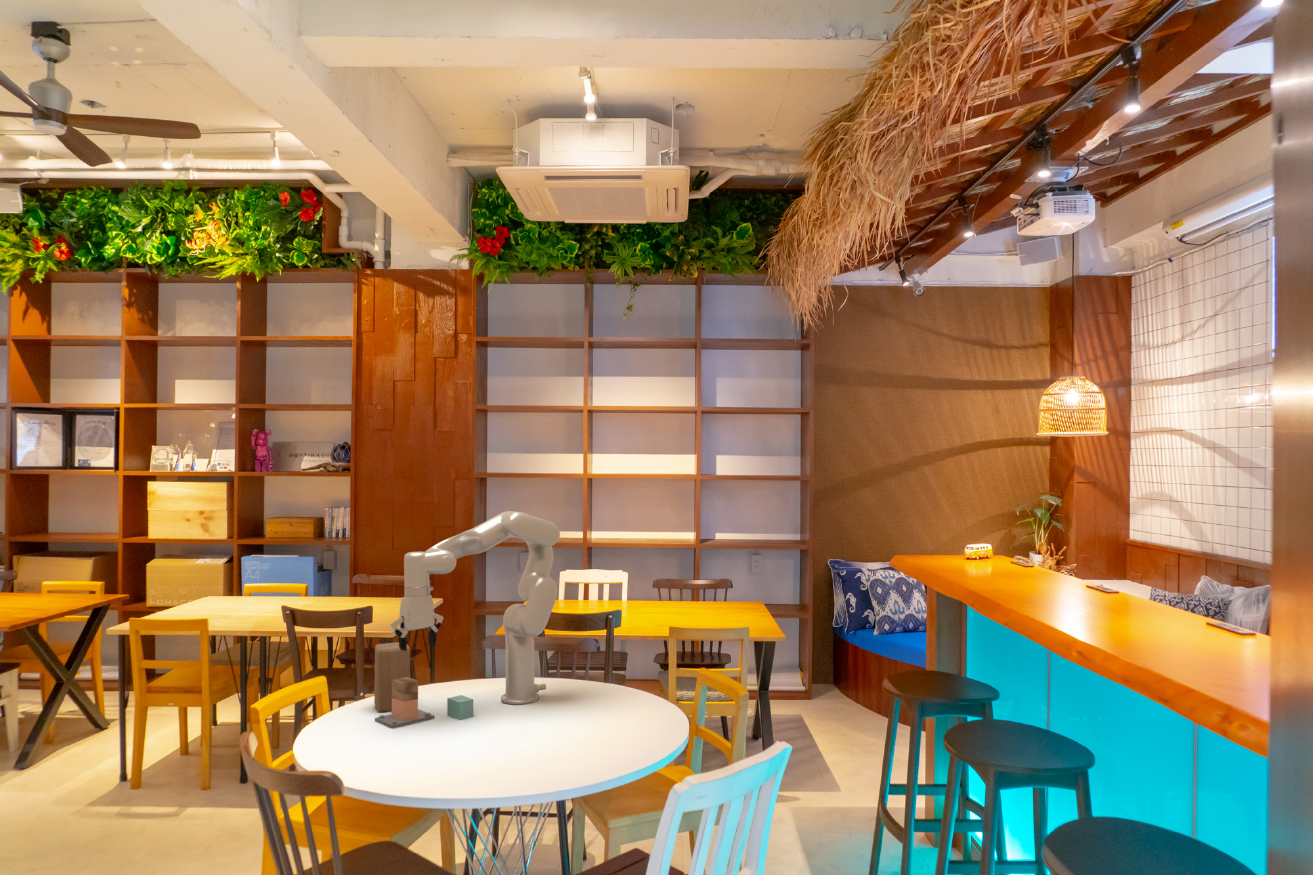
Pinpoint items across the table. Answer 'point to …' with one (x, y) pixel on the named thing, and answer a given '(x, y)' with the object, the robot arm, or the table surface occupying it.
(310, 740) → the table surface
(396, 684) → the walnut brick
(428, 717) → the baseplate
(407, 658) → the block
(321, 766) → the table surface
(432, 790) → the table surface
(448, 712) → the teal brick
